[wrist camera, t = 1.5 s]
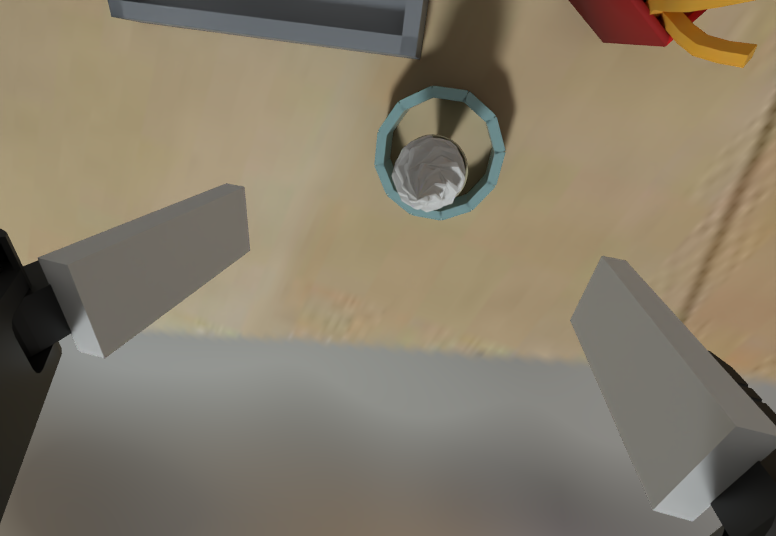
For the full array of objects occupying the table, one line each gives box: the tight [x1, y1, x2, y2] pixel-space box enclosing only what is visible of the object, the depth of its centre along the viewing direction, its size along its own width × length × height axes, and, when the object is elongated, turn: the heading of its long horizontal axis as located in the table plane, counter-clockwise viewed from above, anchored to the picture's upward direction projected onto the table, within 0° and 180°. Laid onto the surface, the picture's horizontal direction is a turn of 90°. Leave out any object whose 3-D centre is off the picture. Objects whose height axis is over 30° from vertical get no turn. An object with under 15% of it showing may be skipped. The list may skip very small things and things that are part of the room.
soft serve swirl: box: [392, 134, 468, 212], centre depth 25 cm, size 5×5×15 cm
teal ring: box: [374, 86, 505, 220], centre depth 30 cm, size 11×11×3 cm
